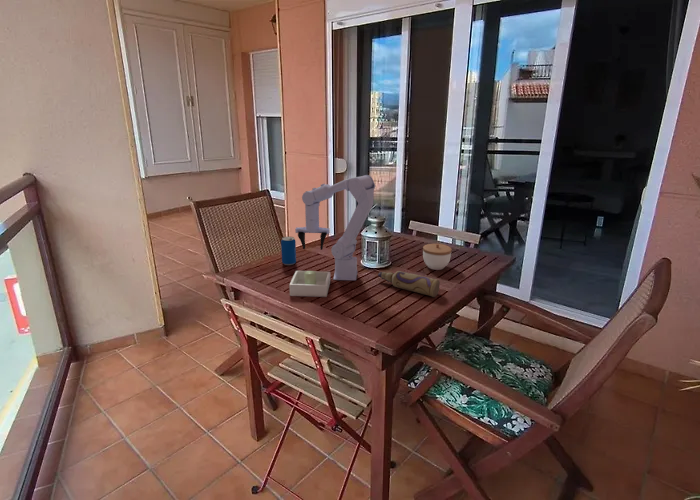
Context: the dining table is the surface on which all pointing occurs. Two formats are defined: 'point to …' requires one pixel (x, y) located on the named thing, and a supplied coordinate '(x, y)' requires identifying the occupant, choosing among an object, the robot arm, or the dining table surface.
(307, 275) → the green cylinder
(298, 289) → the bin
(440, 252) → the lidded bowl
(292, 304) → the dining table surface
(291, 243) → the beverage can
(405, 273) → the decorative bottle
